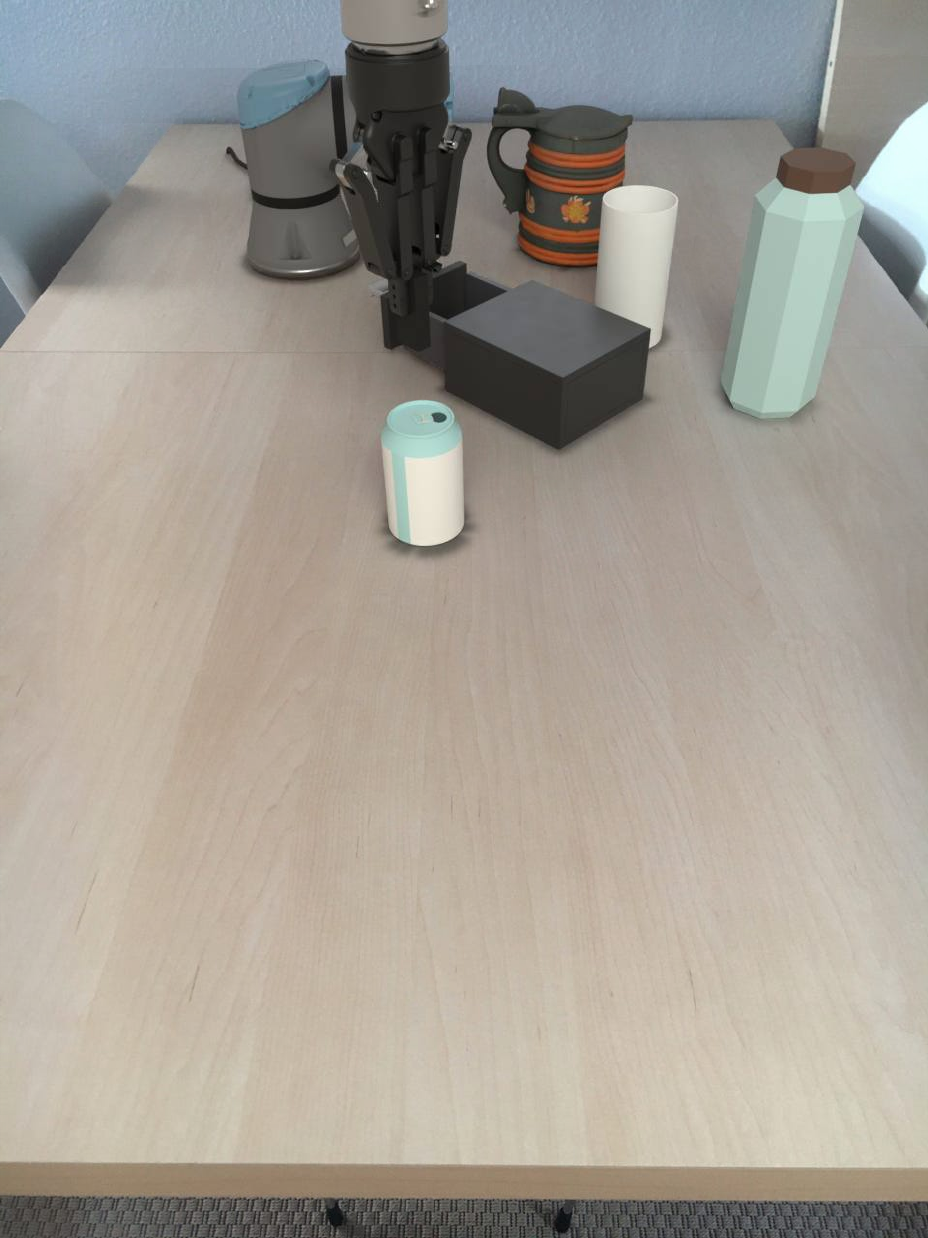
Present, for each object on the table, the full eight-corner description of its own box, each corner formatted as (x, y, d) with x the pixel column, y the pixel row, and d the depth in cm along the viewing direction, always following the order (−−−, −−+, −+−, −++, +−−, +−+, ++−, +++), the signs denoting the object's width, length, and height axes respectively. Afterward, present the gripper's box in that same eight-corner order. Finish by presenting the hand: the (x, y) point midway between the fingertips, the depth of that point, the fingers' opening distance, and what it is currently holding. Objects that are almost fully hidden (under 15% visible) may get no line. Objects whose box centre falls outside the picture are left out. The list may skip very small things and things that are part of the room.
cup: (659, 354, 115) (676, 216, 104) (588, 348, 116) (598, 211, 105) (663, 320, 121) (680, 186, 110) (596, 315, 122) (606, 182, 111)
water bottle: (816, 383, 110) (877, 146, 92) (808, 430, 103) (872, 184, 86) (725, 369, 112) (768, 136, 95) (711, 415, 105) (755, 172, 88)
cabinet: (445, 390, 110) (443, 321, 104) (530, 346, 117) (532, 279, 111) (558, 450, 101) (562, 378, 96) (642, 398, 108) (651, 328, 102)
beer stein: (487, 270, 132) (487, 108, 118) (486, 225, 143) (486, 72, 129) (630, 268, 132) (646, 105, 118) (618, 223, 142) (632, 69, 128)
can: (419, 495, 96) (413, 386, 88) (479, 521, 93) (478, 410, 85) (373, 533, 92) (362, 422, 84) (434, 561, 89) (428, 449, 81)
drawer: (349, 329, 119) (344, 278, 114) (426, 294, 125) (423, 244, 121) (478, 395, 107) (477, 341, 103) (555, 354, 114) (558, 301, 109)
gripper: (360, 68, 65) (386, 386, 82) (497, 31, 72) (496, 332, 88) (291, 48, 69) (329, 355, 86) (427, 15, 76) (438, 306, 92)
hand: (414, 343), depth 87 cm, fingers closed
